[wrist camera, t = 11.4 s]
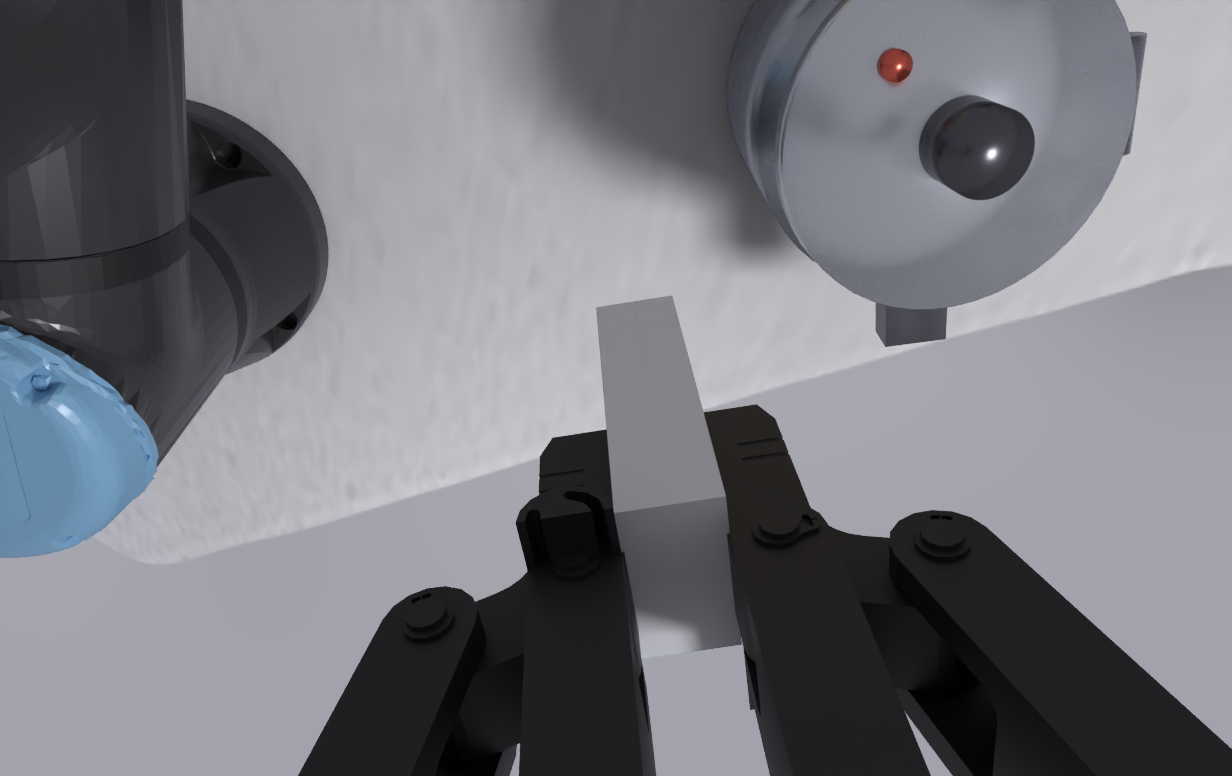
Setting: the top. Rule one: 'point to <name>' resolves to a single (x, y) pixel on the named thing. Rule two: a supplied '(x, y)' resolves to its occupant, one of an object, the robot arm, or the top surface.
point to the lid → (951, 140)
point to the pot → (754, 99)
